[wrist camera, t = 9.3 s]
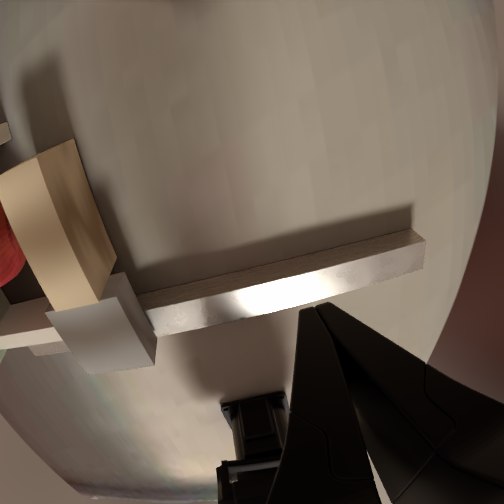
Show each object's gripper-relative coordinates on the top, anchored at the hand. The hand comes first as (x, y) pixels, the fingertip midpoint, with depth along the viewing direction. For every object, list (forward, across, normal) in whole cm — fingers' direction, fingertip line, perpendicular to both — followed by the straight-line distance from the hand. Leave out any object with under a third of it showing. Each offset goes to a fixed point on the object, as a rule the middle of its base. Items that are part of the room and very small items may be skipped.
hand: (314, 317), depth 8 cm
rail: (+12, +4, +7) cm, 14 cm away
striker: (+11, +11, +1) cm, 16 cm away
